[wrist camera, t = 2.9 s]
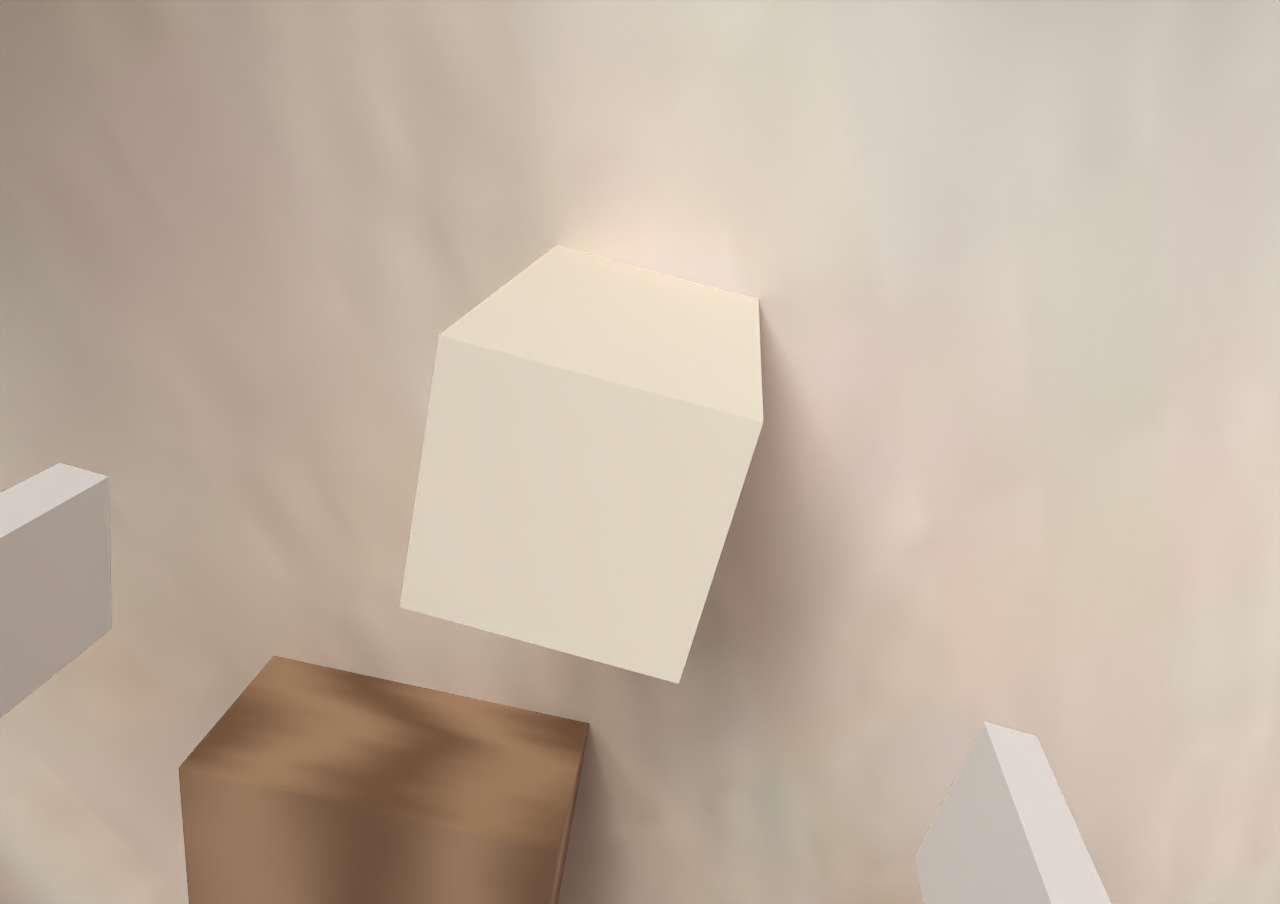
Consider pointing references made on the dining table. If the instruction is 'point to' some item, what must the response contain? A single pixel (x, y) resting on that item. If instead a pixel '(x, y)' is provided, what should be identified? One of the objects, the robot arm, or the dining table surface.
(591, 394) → the cream block
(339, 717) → the walnut block
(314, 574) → the dining table surface
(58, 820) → the dining table surface
